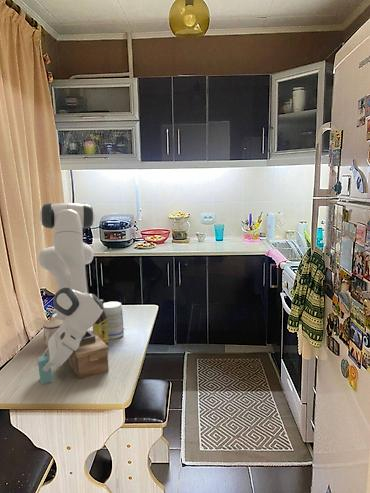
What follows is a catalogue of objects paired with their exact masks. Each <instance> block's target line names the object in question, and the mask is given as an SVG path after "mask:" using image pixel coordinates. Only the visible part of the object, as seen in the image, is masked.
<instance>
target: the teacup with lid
mask: <svg viewBox="0 0 370 493" xmlns="http://www.w3.org/2000/svg"><path fill="white" fill-rule="evenodd" d="M63 322H64V321H63V320H60V319H56V317H52V316H51V317H50V319H49V320H47V321H45V322H43V323H42V324H43V325H42V327H43V334H44V344H45V345H46V346H47V347H48V341H49V339H50V338H51V336H52V335H53V334H54V333H55V332H56V331H57V329H58V328H59V327H60V326H61V325H62V323H63Z"/></svg>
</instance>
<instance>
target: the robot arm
mask: <svg viewBox="0 0 370 493" xmlns="http://www.w3.org/2000/svg"><path fill="white" fill-rule="evenodd" d="M95 216H96V215H95V211H94V208H93V207H92V206H91V205H89V204H86V203H76V202H75V203H74V202H60V203H45V204H43V205H42V207H41V209H40V211H39V220H40V223H41V225H42V226H43V227H44V228H46V229H50V230H51V229H53V246H48V247H45V248H42V249H41V250H40V252H39V254H38V258H37V259H38V263H39V265H40V266H41V267H42V268H43V269H44V270H46V271H48V272H49V273H51V275H52V277H54V280H55V283H56V287H57V292H55V295H54V296H53V300H52V304H53V307H54V308H53V309H52V315H51V317H56V319H60V320H63V321H64V322H63V323H62V325H61V326H60V327H59V328H58V329H57V331H56V332H55V333H54V334H53V335H52V336H51V338H50V339H49V341H48V346H47V348H46V349H45V351H44V352H43V354H42V355H41V356H46V355H49V356H50V360H49V362H48V363H47V364H45V365H44V366H43V370H44V371H45V372H47V371H48V370H49V368H51V369H52V367H54V366H55V367H56V368H59V367H61V366H62V365H63V364H64V363H65V362H66V361H67V359H68V358H69V356H70V355H71V354H72V353H73V350H74V351H76V350H77V349H78V348H79V344H80V341H81V339H82V337H83V336H84V335H85V334H86V331H88V330H89V329H90V328H91V327H92V328H93V325H94V323H95V322H96V321H97V319H98V318H99V317H100V315H101V314H102V312H103V309H104V306H103V303H102V302H101V300H100V298H99V297H98V296H97V295H96V294H94V293H90V292H89V285H88V284H89V282H88V276H87V267H86V265H88V264H91V263H92V261H93V259H94V257H95V256H94V255H95V254H94V250H93V248H92V247H91V245H90V244H88V243H86V242H84V240H83V239H84V238H83V236H84V235H83V229H89V228H91V227H92V226H93V225H94V224H93V223H94V222H95ZM67 269H68V271H67Z"/></svg>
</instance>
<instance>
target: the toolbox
mask: <svg viewBox="0 0 370 493" xmlns="http://www.w3.org/2000/svg"><path fill="white" fill-rule="evenodd" d="M109 349H110V348H109V346H108V345H106V344H105V343H104V342H103V341H102V340H101V339H100V338H99V337H98V336H97V335H96V334H95V333H94V332H93V330H89V329H88V330H87V331H86V334H85V335H84V336H83V337H82V339H81V341H80V344H79V348H78V349H77V350H76V351H74V350H73V353H72V354H71V355H70V356H69V358H68V359H67V360H66V361H67V362H68V364H69V365H70V367H71V368H72V370H73V371H74V373H75V374H76V376H77V377H78V378H79V380H80V379H85V378H88V377H92V376H94V375H98V374H101V373H104V372H106V373H107V372H108V371H109V370H110V369H109V368H110V367H109V358H108V356H109V355H108V351H109Z"/></svg>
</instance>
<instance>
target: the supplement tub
mask: <svg viewBox="0 0 370 493" xmlns="http://www.w3.org/2000/svg"><path fill="white" fill-rule="evenodd" d="M103 306H104V312H105V314H106V316H107V325H108V340H113V339H115V340H116V339H119V338H121V337H123V335H124V333H125V332H124V331H125V330H124V329H125V328H124V327H125V326H124V316H123V305H122V302H119V301H108V302H104V303H103Z"/></svg>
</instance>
